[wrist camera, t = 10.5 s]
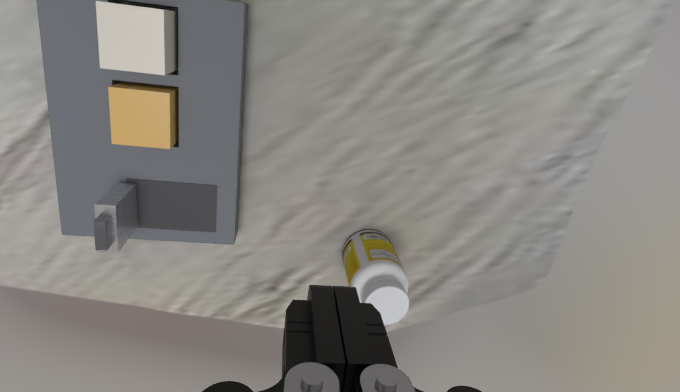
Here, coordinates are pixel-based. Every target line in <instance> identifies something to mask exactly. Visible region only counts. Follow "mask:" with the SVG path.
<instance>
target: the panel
mask: <svg viewBox="0 0 680 392" xmlns="http://www.w3.org/2000/svg"><path fill="white" fill-rule="evenodd" d="M96 1H101V2H109V3H118V4H121V0H37V9H38V18H39V27H40V36H41V46H42V55H43V64H44V73H45V82H46V92H47V101H48V110H49V119H50V129H51V138H52V147H53V156H54V165H55V175H56V184H57V193H58V202H59V212H60V221H61V230H62V235H76V236H93V237H95V233H94V220H95V207H94V204H95V203H96V202H97V201H98V200H100V199H101V198H102V197H103V196H104V195H105V194H106V193H107V192H108V191H109V190H110V189H111V188H112V187H113V186H115V185H116V184H117V183H118V182H121V183H135V184H137V209H138V227H137V228H136V229H135V231H134V232H133V233H132V235H131V236H130V237H129V239H145V240H162V241H180V242H197V243H214V244H231V245H234V243H235V239H236V235H237V231H238V210H239V188H240V166H241V144H242V122H243V100H244V78H245V56H246V34H247V12H248V4H246V3H243V2H236V1H228V0H126V1H134V2H141V3H149V4H156V5H164V6H172V7H178V71H174V72H172V73H169V74H167V75H157V74H148V73H139V72H130V71H121V70H112V69H103V68H100V61H99V46H98V31H97V15H96ZM123 81H128V82H137V83H147V84H156V85H165V86H175V87H179V140H178V141H177V142H176V144H175V145H174V146H173V147H172V148H171V149H164V148H152V147H141V146H129V145H118V144H112V142H111V125H110V109H109V92H108V87H109V86H112V85H115V84H118V83H120V82H123Z"/></svg>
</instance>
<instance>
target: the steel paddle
mask: <svg viewBox="0 0 680 392" xmlns="http://www.w3.org/2000/svg"><path fill="white" fill-rule="evenodd" d="M94 207H95V220H94V233H95V246H96V250H98V251H99V252H117V253H118V252H119V251H120V250H121V248H122V247H123V245H124V244H125V243H126V241H127V240H128V239H129V237H130V236H131V235H132V233H133V232H134V231H135V229H136V228H137V227H138V209H137V184H135V183H121V182H118V183H117V184H116V185H115V186H113V187H112V188H111V189H110V190H109V191H108V192H107V193H106V194H105V195H104V196H103V197H102V198H101V199H100V200H98V201H97V202H96V203H95V204H94Z"/></svg>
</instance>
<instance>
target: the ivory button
mask: <svg viewBox="0 0 680 392" xmlns="http://www.w3.org/2000/svg"><path fill="white" fill-rule="evenodd" d="M96 15H97V31H98V46H99V61H100V68H103V69H112V70H121V71H130V72H139V73H148V74H157V75H167V74H169V73H172V72H174V71H176V70H177V11H171V10H164V9H156V8H148V7H141V6H133V5H125V4H118V3H109V2H101V1H96Z"/></svg>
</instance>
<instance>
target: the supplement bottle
mask: <svg viewBox="0 0 680 392" xmlns="http://www.w3.org/2000/svg"><path fill="white" fill-rule="evenodd" d="M342 258H343V263H344V267H345V270H346V275H347V278H348V282H349V286H350V287H356V289H357V293H358V297H359V301H360V303H371V304H372V305H373V306H374V307H375V308H376V309H377V310H378V311H379V312H380V314H381V317H382V320H383V323H384V325H390V324H393V323H396V322H398V321H399V320H400V319H402V318H403V317H404V316H405V314H406V313H407V311H408V308H409V299H408V296H407V292H408V287H409V284H408V278H407V275H406V273H405V271H404V269H403V267H402V265H401V263H400V260H399V258H398V256H397V254H396V252H395V250H394V248H393V246H392V244H391V242H390V241H389V240H388V238H387V237H386V236H385V235H383V234H382V233H380V232H378V231H374V230H364V231H360V232H358V233H356V234H354V235H353V236H351V237H350V238H349V239H348V240H347V242H346V243H345V245H344V247H343V251H342Z"/></svg>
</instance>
